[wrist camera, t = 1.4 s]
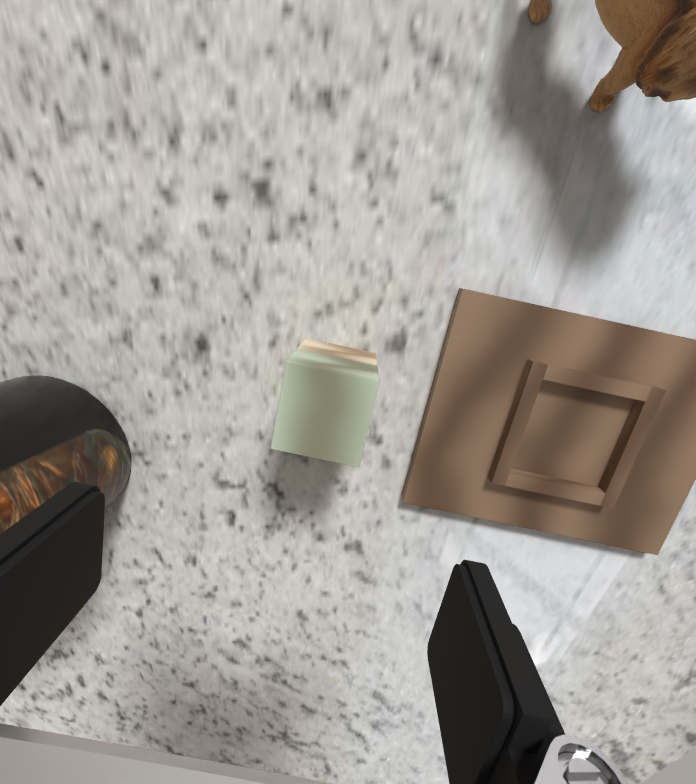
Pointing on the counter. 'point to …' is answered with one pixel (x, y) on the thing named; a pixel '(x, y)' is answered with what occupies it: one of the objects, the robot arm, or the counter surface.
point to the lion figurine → (644, 47)
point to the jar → (55, 445)
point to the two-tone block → (326, 402)
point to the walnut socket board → (558, 424)
